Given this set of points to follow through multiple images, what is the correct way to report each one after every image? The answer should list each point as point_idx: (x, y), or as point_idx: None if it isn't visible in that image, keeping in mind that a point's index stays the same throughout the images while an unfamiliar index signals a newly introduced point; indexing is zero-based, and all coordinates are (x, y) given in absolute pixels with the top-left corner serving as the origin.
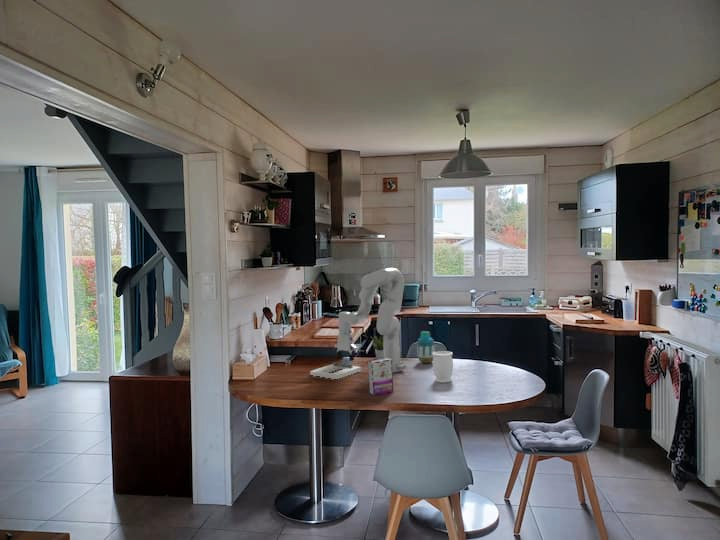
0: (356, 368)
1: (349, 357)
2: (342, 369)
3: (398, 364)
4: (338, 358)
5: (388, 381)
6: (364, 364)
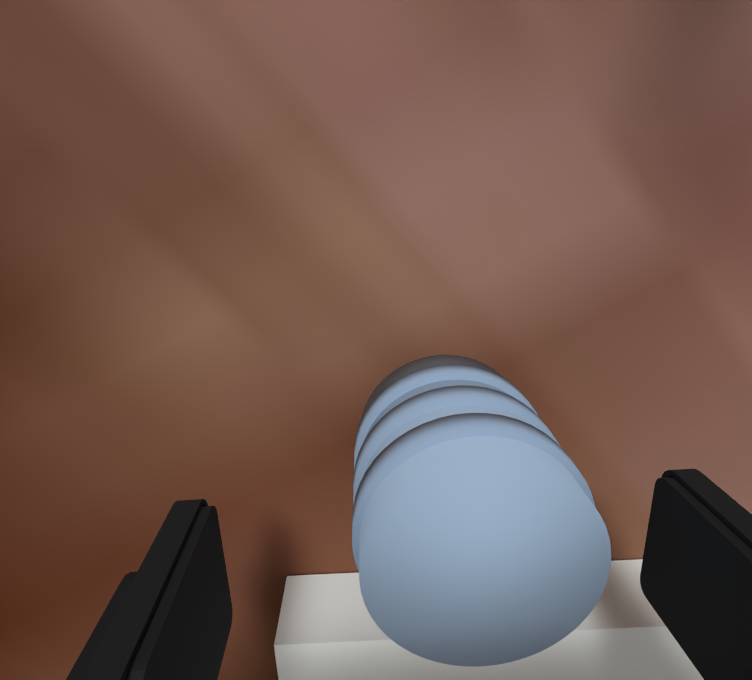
0: None
1: (539, 497)
2: None
3: None
4: (225, 622)
5: None
6: (703, 54)
